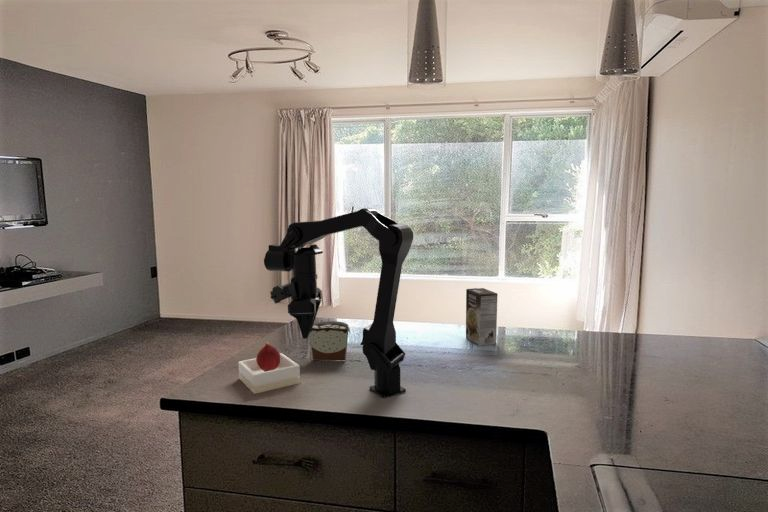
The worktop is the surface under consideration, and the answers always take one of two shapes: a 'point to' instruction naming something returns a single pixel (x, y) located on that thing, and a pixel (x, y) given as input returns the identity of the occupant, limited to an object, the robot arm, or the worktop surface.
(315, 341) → the food container
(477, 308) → the coffee box
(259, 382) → the open white tray
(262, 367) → the onion
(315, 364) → the worktop surface
